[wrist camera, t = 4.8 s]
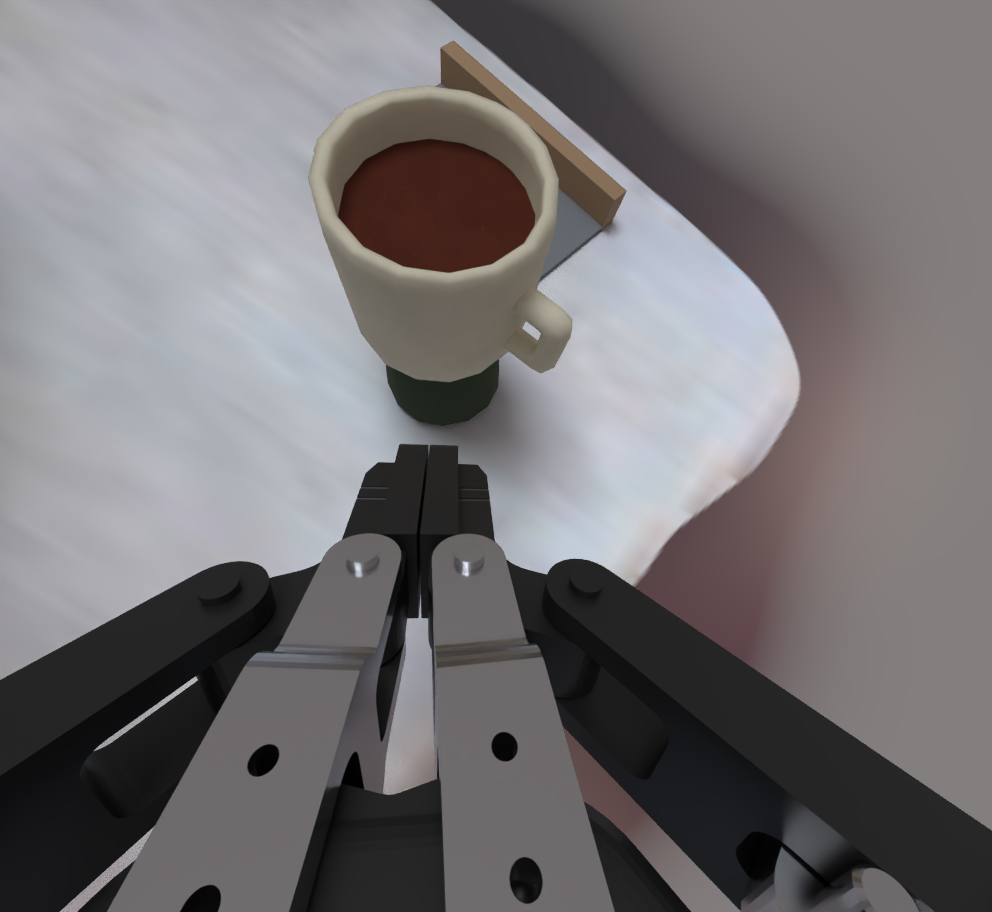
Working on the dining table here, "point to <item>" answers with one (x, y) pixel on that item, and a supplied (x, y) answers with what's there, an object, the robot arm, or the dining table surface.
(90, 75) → the dining table surface
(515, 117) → the character mug
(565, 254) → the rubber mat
